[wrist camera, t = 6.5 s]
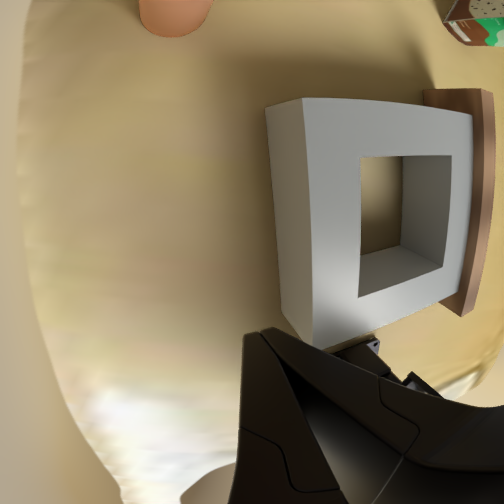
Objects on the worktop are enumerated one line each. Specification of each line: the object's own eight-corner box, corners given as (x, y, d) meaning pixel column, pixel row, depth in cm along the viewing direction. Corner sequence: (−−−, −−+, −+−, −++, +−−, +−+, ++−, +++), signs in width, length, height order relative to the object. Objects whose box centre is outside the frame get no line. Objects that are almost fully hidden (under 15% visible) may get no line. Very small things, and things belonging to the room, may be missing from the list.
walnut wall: (429, 282, 27) (473, 309, 21) (416, 288, 26) (460, 317, 21) (437, 92, 20) (492, 93, 14) (422, 89, 19) (480, 88, 14)
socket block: (419, 269, 25) (457, 291, 21) (281, 312, 22) (312, 353, 18) (424, 113, 20) (472, 115, 16) (264, 107, 17) (302, 97, 12)
